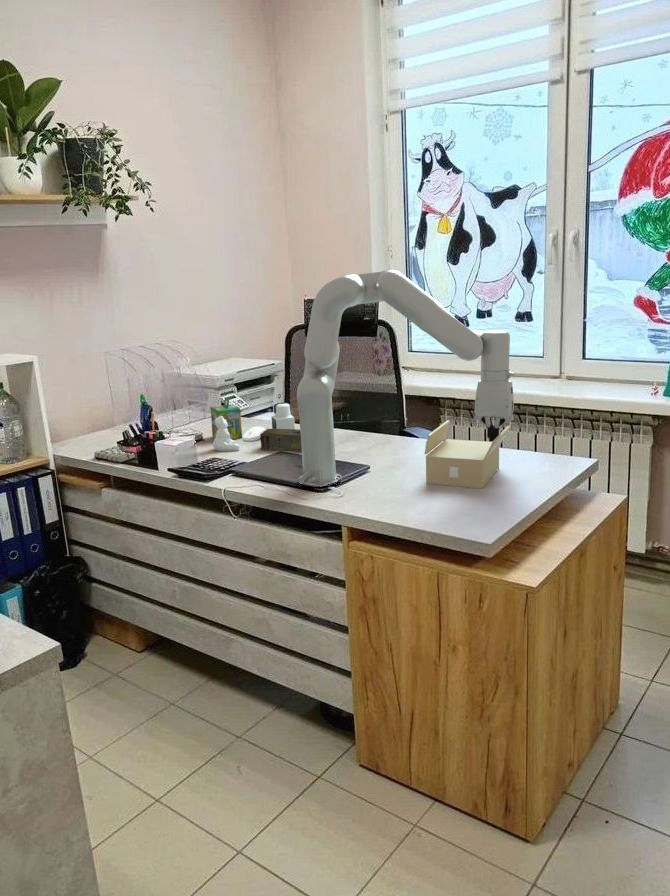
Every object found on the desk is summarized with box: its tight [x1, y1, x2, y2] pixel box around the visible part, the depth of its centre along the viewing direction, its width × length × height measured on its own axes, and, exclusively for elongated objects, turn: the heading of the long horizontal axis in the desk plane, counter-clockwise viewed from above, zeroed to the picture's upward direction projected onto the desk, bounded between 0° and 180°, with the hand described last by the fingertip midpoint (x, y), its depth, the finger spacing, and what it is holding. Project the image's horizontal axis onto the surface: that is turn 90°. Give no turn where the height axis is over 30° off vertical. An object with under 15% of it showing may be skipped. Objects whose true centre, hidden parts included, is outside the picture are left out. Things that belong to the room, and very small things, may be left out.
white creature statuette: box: [212, 416, 240, 452], centre depth 251 cm, size 10×9×12 cm
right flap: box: [484, 425, 511, 460], centre depth 202 cm, size 19×6×1 cm
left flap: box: [424, 419, 450, 456], centre depth 210 cm, size 19×6×1 cm
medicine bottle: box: [271, 402, 296, 429], centre depth 268 cm, size 7×7×12 cm
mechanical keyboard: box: [93, 429, 205, 464], centre depth 258 cm, size 38×19×3 cm, turn 146°
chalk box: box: [210, 397, 243, 440], centre depth 268 cm, size 9×9×15 cm
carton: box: [425, 438, 500, 489], centre depth 208 cm, size 20×16×8 cm
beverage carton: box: [259, 428, 302, 452], centre depth 249 cm, size 8×19×7 cm, turn 76°
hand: (493, 440), depth 203 cm, fingers closed
